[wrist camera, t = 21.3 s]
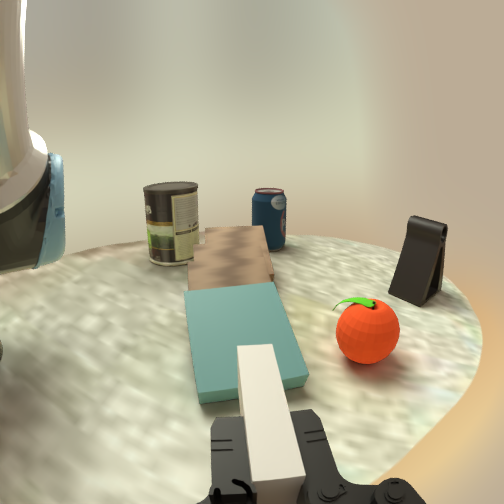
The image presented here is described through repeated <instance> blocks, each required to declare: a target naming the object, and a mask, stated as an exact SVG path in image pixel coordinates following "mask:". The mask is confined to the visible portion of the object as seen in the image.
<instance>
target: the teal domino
mask: <svg viewBox="0 0 504 504" xmlns="http://www.w3.org/2000/svg"><path fill="white" fill-rule="evenodd" d="M184 298H185V307H186V315H187V323H188V331H189V339H190V346H191V353H192V360H193V366H194V373H195V379H196V386H197V392H198V398H199V403H200V404H203V403H211V402H218V401H225V400H232V399H239V394H238V365H237V346H243V345H262V344H272V345H273V349H274V353H275V357H276V361H277V365H278V369H279V373H280V377H281V380H282V384H283V388H284V390H287V389H292V388H297V387H301V386H304V384H305V382H306V380H307V378H308V376H309V372H308V370H307V367H306V364H305V362H304V359H303V357H302V354H301V351H300V349H299V346H298V343H297V341H296V338H295V336H294V333H293V330H292V328H291V325H290V323H289V320H288V318H287V315H286V312H285V310H284V307H283V305H282V302H281V299H280V297H279V294H278V292H277V289H276V287H275V284H274V282H267V283H258V284H249V285H240V286H231V287H222V288H212V289H202V290H192V291H184Z"/></svg>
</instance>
